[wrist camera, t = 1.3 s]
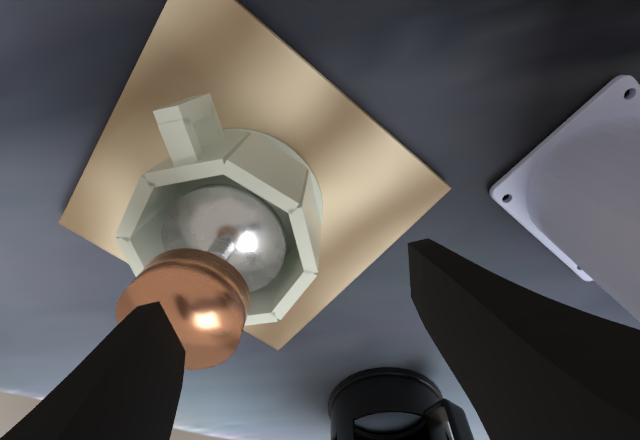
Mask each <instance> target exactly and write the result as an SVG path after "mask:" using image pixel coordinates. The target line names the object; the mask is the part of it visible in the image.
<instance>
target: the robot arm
mask: <svg viewBox="0 0 640 440" xmlns="http://www.w3.org/2000/svg"><path fill="white" fill-rule="evenodd" d="M628 89H630V92H629V94H628V96H627V97H625V98H624V93H625V92H626V91H627V90H628ZM489 193H490V196H491V197H492V198H493V199H494V200H495V201H496V202H497V203H498V204H499V205H500V206H501V207H503V208H504V209H505V210H506V211H507V212H508V213H509V214H510V215H512V216H513V217H514V218H515V219H516V220H517V221H518V222H519V223H520V224H522V225H523V226H524V227H525V228H526V229H527V230H528V231H529V232H530V233H532V234H533V235H534V236H535V237H536V238H537V239H538V240H539V241H541V242H542V243H543V244H544V245H545V246H546V247H547V248H548V249H549V250H551V251H552V252H553V253H554V254H555V255H556V256H557V257H558V258H559V259H561V260H562V261H563V262H564V263H565V264H566V265H567V266H568V267H570V268H571V269H572V270H573V271H574V272H575V273H576V274H577V275H578V276H580V277H581V278H582V279H583V280H585V281H592V280H594V281H595V282H596V283H597V284H598V285H600V286H601V287H602V288H603V289H604V290H605V291H606V292H607V293H608V294H609V295H610V296H612V297H613V298H614V299H615V300H616V301H617V302H618V303H619V304H620V305H621V306H622V307H624V308H625V309H626V310H627V311H628V312H629V313H630V314H631V315H632V316H633V317H634V318H636V319H637V320H638V321H639V322H640V85H639V84H638V82H637V81H636V80H635V79H634V78H633V77H632V76H630V75H619V76H617V77H615V78H614V79H612V80H611V81H610V82H609V83H608V84H607V85H606V86H604V87H603V88H602V89H601V90H600V91H599V92H598V93H597V94H595V95H594V96H593V97H592V98H591V99H590V100H589V101H587V102H586V103H585V104H584V105H583V106H582V107H581V108H580V109H578V110H577V111H576V112H575V113H574V114H573V115H572V116H571V117H569V118H568V119H567V120H566V121H565V122H564V123H563V124H562V125H560V126H559V127H558V128H557V129H556V130H555V131H554V132H553V133H551V134H550V135H549V136H548V137H547V138H546V139H545V140H544V141H542V142H541V143H540V144H539V145H538V146H537V147H536V148H535V149H533V150H532V151H531V152H530V153H529V154H528V155H527V156H526V157H524V158H523V159H522V160H521V161H520V162H519V163H518V164H516V165H515V166H514V167H513V168H512V169H511V170H510V171H509V172H507V173H506V174H505V175H504V176H503V177H502V178H501V179H500V180H498V181H497V182H496V183H495V184H494V185H493V186H492V187H491V188H490V191H489ZM506 194H509V197H508V198H507V199H505V200H502V198H503V197H504V196H505V195H506ZM408 253H409V270H410V286H411V298H412V300H413V302H414V305H415V307H416V309H417V311H418V314H419V316H420V318H421V320H422V322H423V324H424V326H425V328H426V330H427V331H428V333H429V335H430V336H431V338H432V340H433V341H434V343H435V345H436V346H437V348H438V350H439V351H440V353H441V354H442V356H443V358H444V359H445V361H446V362H447V364H448V366H449V367H450V369H451V370H452V372H453V374H454V375H455V377H456V379H457V380H458V382H459V383H460V385H461V387H462V388H463V390H464V391H465V393H466V395H467V396H468V398H469V400H470V401H471V403H472V405H473V407H474V409H475V410H476V412H477V414H478V416H479V418H480V420H481V422H482V424H483V426H484V428H485V430H486V432H487V434H488V436H489V438H490V440H640V330H638V329H635V328H632V327H629V326H626V325H623V324H619V323H616V322H613V321H610V320H607V319H604V318H601V317H598V316H595V315H592V314H589V313H586V312H583V311H581V310H578V309H576V308H573V307H570V306H568V305H565V304H562V303H560V302H557V301H555V300H552V299H549V298H547V297H545V296H542V295H540V294H537V293H535V292H533V291H531V290H528V289H526V288H524V287H522V286H520V285H517V284H515V283H513V282H511V281H509V280H507V279H504V278H502V277H500V276H498V275H496V274H494V273H492V272H490V271H488V270H486V269H484V268H482V267H481V266H479V265H477V264H475V263H473V262H471V261H469V260H467V259H466V258H464V257H462V256H460V255H458V254H456V253H455V252H453V251H451V250H449V249H447V248H445V247H444V246H442V245H440V244H438V243H436V242H434V241H432V240H430V239H424V240H419V241H415V242H411V243H408ZM185 354H186V351H185V349H184V347H183V345H182V343H181V341H180V340H179V338H178V336H177V334H176V332H175V330H174V328H173V326H172V324H171V323H170V321H169V319H168V317H167V315H166V313H165V311H164V309H163V307H162V305H161V304H160V302H159V301H157V302H153V303H149V304H144V305H140V306H137V307H136V308H135V309H134V310H133V311H131V312H130V313H129V314H128V315H127V316H126V317H125V318H124V319H123V320H122V321H121V322H120V323H119V324H118V325H117V326H116V327H115V328H114V329H113V330H112V331H111V332H110V333H109V334H108V335H107V336H106V338H105V339H104V340H103V341H102V342H101V343H100V344H99V345H98V346H97V347H96V348H95V349H94V350H93V351H92V352H91V353H90V354H89V355H88V356H87V357H86V358H85V359H84V360H83V361H82V362H81V363H80V364H79V365H78V366H77V367H76V368H75V369H74V370H73V371H72V372H71V373H70V374H69V375H68V376H67V377H66V378H65V379H64V380H63V381H62V382H61V383H60V384H59V385H58V386H57V387H56V388H55V389H54V390H53V391H51V392H50V393H49V394H48V395H47V396H46V397H45V398H44V399H43V400H42V401H41V402H40V403H39V404H38V405H37V406H36V407H35V408H34V409H33V410H32V411H31V412H29V414H27V415H26V416H25V417H24V418H23V419H22V420H21V421H20V422H18V423H17V424H16V425H15V426H14V427H13V428H12V429H11V430H10V431H8V432H7V433H6V434H5V435H4V436H3V437H1V438H0V440H169V439H170V435H171V431H172V427H173V423H174V419H175V415H176V411H177V406H178V402H179V398H180V393H181V389H182V383H183V375H184V365H185Z"/></svg>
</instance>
